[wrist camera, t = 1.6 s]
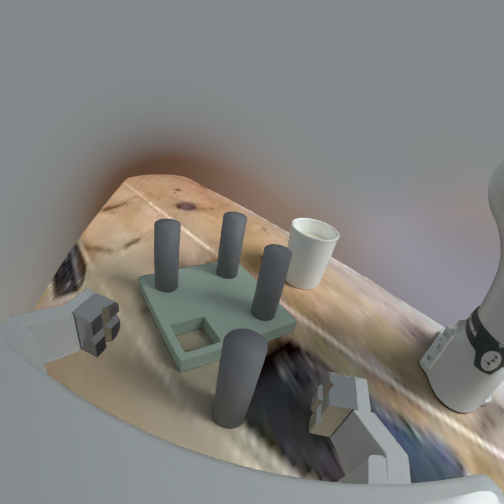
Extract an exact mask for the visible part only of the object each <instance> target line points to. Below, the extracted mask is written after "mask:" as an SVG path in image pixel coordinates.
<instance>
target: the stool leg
mask: <svg viewBox="0 0 504 504" xmlns="http://www.w3.org/2000/svg"><path fill="white" fill-rule="evenodd" d="M267 350H268V344H267V341H266V340H265V338H264V337H263V336H262V335H261V334H259V333H258V332H256V331H253V330H250V329H243V328H241V329H235V330H232V331H230V332H229V333H227V334H226V336H225V337H224V339H223V345H222V352H221V359H220V365H219V372H218V379H217V386H216V393H215V400H214V407H213V419H214V421H215V422H216V423H217V424H218V425H219V426H221V427H223V428H228V429H232V428H236V427H238V426H240V425H241V424H242V423H243V421H244V419H245V416H246V413H247V410H248V407H249V404H250V402H251V399H252V396H253V393H254V390H255V387H256V384H257V381H258V378H259V375H260V372H261V369H262V366H263V363H264V360H265V357H266V354H267Z"/></svg>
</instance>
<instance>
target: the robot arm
mask: <svg viewBox="0 0 504 504" xmlns="http://www.w3.org/2000/svg"><path fill="white" fill-rule="evenodd" d="M488 201H489V206H490V209H491V212H492V214H493V217H494V219H495V221H496V224H497V227H498V231H499V235H500V243H501V254H500V262H499V266H498V270H497V273H496V275H495V278H494V280H493V283H492V285H491V287H490V289H489V291H488V293H487V295H486V297H485V298H484V300H483V302H482V304H481V305H480V306H479V307H477V308H476V309H475V310H474V311H473V312H472V313H471V315H470V317H469V318H468V319H466V320H459V321H458V322H457V324H456V325H455V327H454V328H453V327H452V326H450V325H448V326H447V327H446V329H442V330H441V332H440V333H439V334H438V336H437V337H436V339H435V340H434V342H433V343H432V344H431V346H430V347H429V349H428V350H427V352H426V353H425V354H424V356H423V357H422V358H421V360H420V366H421V367H422V369H423V370H424V371H425V373H426V374H427V376H428V379H429V382H430V385H431V387H432V389H433V391H434V392H435V394H436V395H437V397H438V398H439V399H440V400H441V401H442V402H443V403H444V404H445V405H446V406H448V407H449V408H451V409H452V410H455V411H457V412H461V413H470V412H473V411H474V410H476V409H477V408H478V407H480V406H484V405H488V404H489V403H490V401H491V400H492V396H491V394H492V393H493V392H494V391H495V390H496V388H497V387H498V386H499V385H500V383H501V382H502V381H503V379H504V160H502V161H501V162H500V163H499V164H498V165H497V166H496V167H495V169H494V171H493V173H492V175H491V177H490V181H489V186H488ZM118 312H119V306H118V303H116V302H115V301H113V300H111V299H108V298H106V297H104V296H102V295H100V294H98V293H96V292H94V291H92V290H90V289H85V290H84V291H82V292H81V293H80V294H78V295H77V296H76V297H74V298H73V299H72V300H71V301H69V302H68V303H67V304H66V305H64V306H63V307H60V306H57V307H52V308H47V309H43V310H38V311H33V312H28V313H23V314H18V315H13V316H12V317H10V318H9V319H8V320H7V321H5V322H4V323H3V324H2V325H0V504H504V494H503V492H502V491H501V490H500V488H499V487H498V486H497V485H496V484H495V483H494V481H493V480H492V479H491V478H489V477H488V476H487V475H485V474H477V475H472V476H467V477H461V478H455V479H448V480H441V481H433V482H422V483H411V480H410V470H409V461H408V455H407V454H406V452H405V451H404V450H403V449H402V447H401V446H400V445H399V444H398V442H397V441H396V440H395V439H394V437H393V436H392V435H391V434H390V432H389V431H388V430H387V428H386V427H385V426H384V425H383V423H382V422H381V421H380V420H379V418H378V417H377V416H376V415H375V413H371V409H370V400H369V392H368V384H367V380H366V379H365V378H359V377H352V376H348V375H343V374H338V373H333V372H327V373H326V374H325V375H324V377H323V384H321V385H319V386H318V387H317V389H316V391H315V393H314V396H313V400H312V405H311V409H312V411H313V412H314V414H313V415H312V417H311V418H310V427H309V433H314V434H319V435H324V436H329V437H330V438H331V440H332V442H333V444H334V446H335V448H336V450H337V452H338V454H339V456H340V458H341V460H342V462H343V464H344V466H345V468H346V470H347V472H348V474H347V475H346V476H345V477H343V478H342V479H341V480H339V481H338V482H327V481H318V480H310V479H303V478H296V477H290V476H285V475H279V474H274V473H269V472H265V471H260V470H256V469H252V468H248V467H244V466H240V465H236V464H233V463H229V462H226V461H222V460H219V459H216V458H213V457H209V456H206V455H203V454H200V453H198V452H195V451H192V450H189V449H186V448H184V447H181V446H178V445H176V444H173V443H171V442H168V441H166V440H164V439H161V438H159V437H156V436H154V435H152V434H150V433H147V432H145V431H143V430H141V429H139V428H137V427H135V426H133V425H131V424H128V423H126V422H124V421H123V420H121V419H119V418H117V417H115V416H113V415H111V414H109V413H107V412H106V411H104V410H102V409H100V408H99V407H97V406H95V405H93V404H92V403H90V402H88V401H87V400H85V399H83V398H82V397H80V396H79V395H77V394H75V393H74V392H72V391H71V390H69V389H68V388H66V387H65V386H63V385H62V384H60V383H59V382H57V381H56V380H54V379H53V378H52V377H50V376H49V375H48V372H47V369H46V367H45V364H47V363H49V362H52V361H54V360H57V359H60V358H62V357H65V356H67V355H70V354H72V353H75V352H77V351H80V350H81V349H82V350H84V351H86V352H88V353H90V354H92V355H94V356H96V357H98V356H99V355H100V354H101V353H102V352H103V351H104V350H105V348H106V343H107V342H110V341H113V340H114V338H115V337H116V336H117V334H118V331H119V328H120V319H119V318H118V316H117V313H118Z"/></svg>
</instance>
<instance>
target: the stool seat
mask: <svg viewBox="0 0 504 504" xmlns="http://www.w3.org/2000/svg"><path fill="white" fill-rule="evenodd" d="M246 222H247V217H246V216H245V215H244V214H241V213H238V212H227V213H225V214H224V216H223V223H222V231H221V238H220V246H219V254H218V262H213V263H208V264H202V265H197V266H192V267H186V268H181V269H178V267H179V244H180V226H181V224H180V222H178V221H177V220H174V219H160V220H158V221H156V222H155V227H154V265H155V273H154V274H149V275H144V276H139V288H140V290H141V293H142V295H143V297H144V299H145V302H146V304H147V306H148V308H149V310H150V313H151V315H152V317H153V319H154V321H155V323H156V325H157V327H158V329H159V331H160V333H161V335H162V337H163V339H164V341H165V343H166V345H167V347H168V349H169V351H170V353H171V355H172V357H173V359H174V361H175V363H176V364H177V366H178V368H179V370H180V372H184V371H187V370H190V369H193V368H196V367H199V366H202V365H205V364H208V363H211V362H214V361H217V360H220V359H221V352H222V345H223V339H224V337H225V336H226V334H227V333H229V332H230V331H232V330H235V329H241V328H243V329H250V330H253V331H256V332H258V333H259V334H261V335H262V336H263V337H264V338H265V340H266V341H267V342H268V341H271V340H274V339H276V338H278V337H281V336H283V335H286V334H288V333H291V332H293V330H294V327H295V325H296V322H297V321H296V320H295V319H294V318H293V317H292V316H291V315H290V314H289V313H288V312H287V311H286V310H285V309H284V308H283V307H282V306H281V305H280V304H279V301H280V297H281V294H282V290H283V287H284V283H285V280H286V276H287V272H288V269H289V265H290V262H291V258H292V252H291V251H290V250H289V249H288V248H286V247H284V246H281V245H276V244H271V245H267V246H266V247H265V249H264V253H263V258H262V262H261V267H260V272H259V276H258V281H256V280H255V279H254V278H253V277H252V276H251V275H250V274H249V273H248V272H247V271H246V270H245V269H244V268H243V267H242V266H241V265H240V264H239V262H240V256H241V250H242V244H243V239H244V233H245V227H246ZM200 328H204V330H205V331H206V333H207V334H208V336H209V337H210V339H211V340H212V342H213V343H214V344H212V345H209V346H205V347H202V348H199V349H196V350H192V351H189V352H186V353H185V351H184V350H183V348H182V346H181V344H180V343H179V341H178V339H177V337H176V335H178V334H182V333H186V332H189V331H193V330H196V329H200Z"/></svg>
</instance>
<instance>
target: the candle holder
mask: <svg viewBox="0 0 504 504" xmlns="http://www.w3.org/2000/svg"><path fill="white" fill-rule="evenodd" d="M338 239H339V233H338V231H337V230H336V229H335V228H333V227H332V226H330V225H328V224H326V223H324V222H321V221H319V220H315V219H310V218H298V219H295V220H293V221H292V223H291V231H290V236H289V241H288V247H287V248H288V249H289V250H290V251H291V252H292V258H291V262H290V265H289V269H288V272H287V276H286V280H285V281H286V282H287V283H289V284H290V285H292V286H294V287H296V288H300V289H306V290H308V289H314V288H316V287H317V286H318V285H319V283H320V281H321V279H322V277H323V274H324V272H325V270H326V267H327V265H328V263H329V260H330V258H331V255H332V253H333V250H334V248H335V245H336V243H337V240H338Z"/></svg>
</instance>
